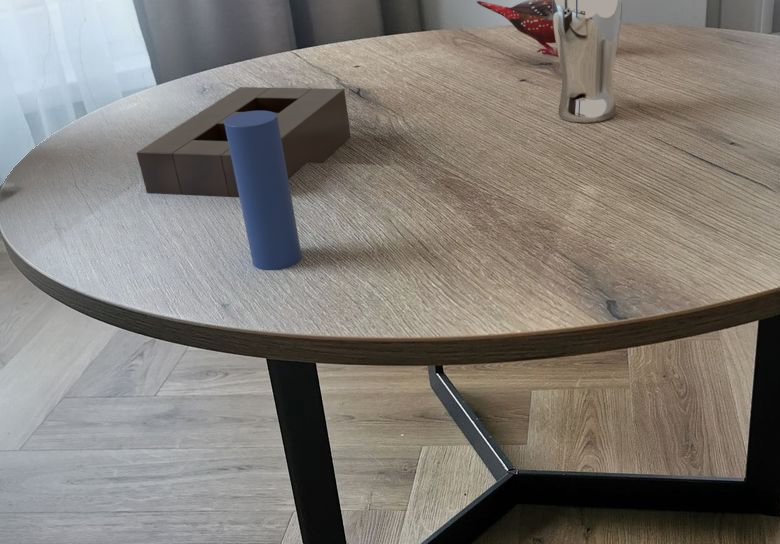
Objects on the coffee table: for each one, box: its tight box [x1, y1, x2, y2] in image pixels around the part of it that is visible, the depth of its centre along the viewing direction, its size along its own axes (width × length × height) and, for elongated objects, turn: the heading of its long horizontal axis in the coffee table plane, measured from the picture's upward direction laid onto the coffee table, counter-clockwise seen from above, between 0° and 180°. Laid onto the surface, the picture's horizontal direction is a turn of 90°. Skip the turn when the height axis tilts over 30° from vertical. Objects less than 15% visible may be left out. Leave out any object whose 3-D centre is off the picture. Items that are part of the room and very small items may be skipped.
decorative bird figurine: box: [476, 0, 559, 57], centre depth 121 cm, size 3×18×10 cm, turn 63°
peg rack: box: [136, 86, 352, 198], centre depth 91 cm, size 12×20×5 cm, turn 167°
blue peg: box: [224, 111, 303, 271], centre depth 69 cm, size 4×4×12 cm
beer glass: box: [552, 0, 623, 124], centre depth 98 cm, size 7×7×15 cm
